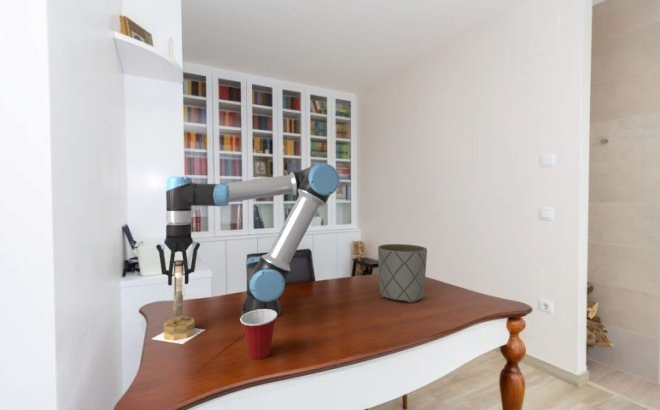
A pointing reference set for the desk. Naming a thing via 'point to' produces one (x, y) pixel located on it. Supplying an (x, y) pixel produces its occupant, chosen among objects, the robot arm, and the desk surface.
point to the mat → (181, 341)
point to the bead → (179, 328)
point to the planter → (402, 271)
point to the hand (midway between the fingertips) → (178, 294)
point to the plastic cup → (259, 331)
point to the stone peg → (178, 288)
